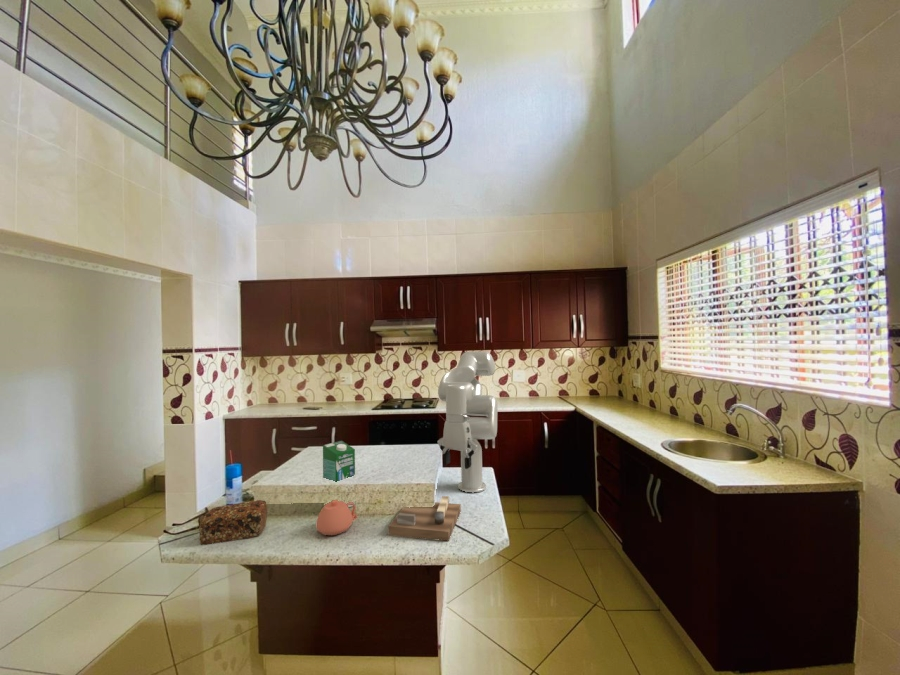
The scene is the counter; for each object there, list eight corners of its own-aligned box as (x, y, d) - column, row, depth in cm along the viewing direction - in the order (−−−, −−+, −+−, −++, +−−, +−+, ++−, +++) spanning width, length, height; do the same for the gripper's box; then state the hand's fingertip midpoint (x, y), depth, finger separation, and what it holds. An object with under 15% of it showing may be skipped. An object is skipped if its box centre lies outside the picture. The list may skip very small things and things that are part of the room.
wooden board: (409, 507, 141) (408, 492, 141) (460, 512, 136) (460, 496, 136) (388, 535, 120) (388, 517, 121) (448, 541, 116) (448, 522, 116)
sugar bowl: (314, 526, 127) (314, 497, 128) (353, 517, 134) (353, 490, 134) (318, 542, 116) (318, 511, 117) (361, 532, 123) (360, 502, 123)
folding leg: (443, 524, 120) (443, 515, 121) (433, 523, 121) (433, 515, 121) (449, 503, 137) (449, 495, 137) (441, 502, 137) (441, 495, 137)
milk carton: (336, 513, 137) (335, 448, 138) (323, 507, 143) (322, 444, 144) (355, 505, 144) (354, 443, 145) (342, 499, 150) (341, 440, 151)
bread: (268, 523, 130) (268, 496, 131) (260, 538, 120) (260, 508, 121) (210, 531, 126) (210, 502, 126) (197, 547, 115) (197, 516, 116)
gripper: (482, 418, 129) (483, 466, 129) (442, 414, 138) (443, 459, 138) (472, 422, 123) (473, 473, 122) (431, 417, 132) (432, 465, 132)
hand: (457, 465), depth 130 cm, fingers open, 8 cm apart
